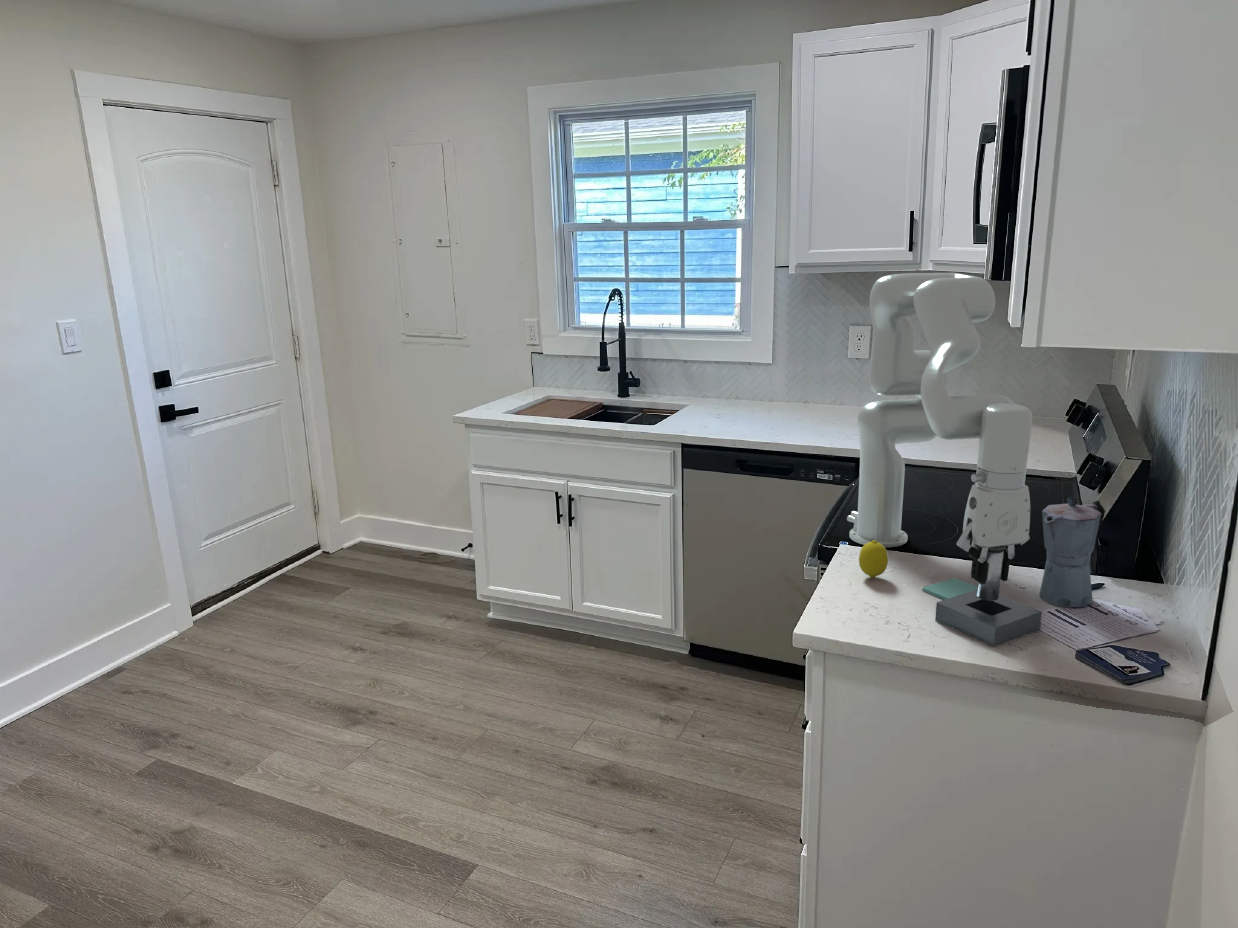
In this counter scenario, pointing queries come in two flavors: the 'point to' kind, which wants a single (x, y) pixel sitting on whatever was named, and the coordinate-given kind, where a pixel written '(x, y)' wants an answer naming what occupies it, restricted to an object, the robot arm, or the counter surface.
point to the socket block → (988, 618)
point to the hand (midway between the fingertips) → (989, 578)
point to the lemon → (873, 559)
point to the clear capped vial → (992, 574)
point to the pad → (949, 588)
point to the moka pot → (1069, 552)
